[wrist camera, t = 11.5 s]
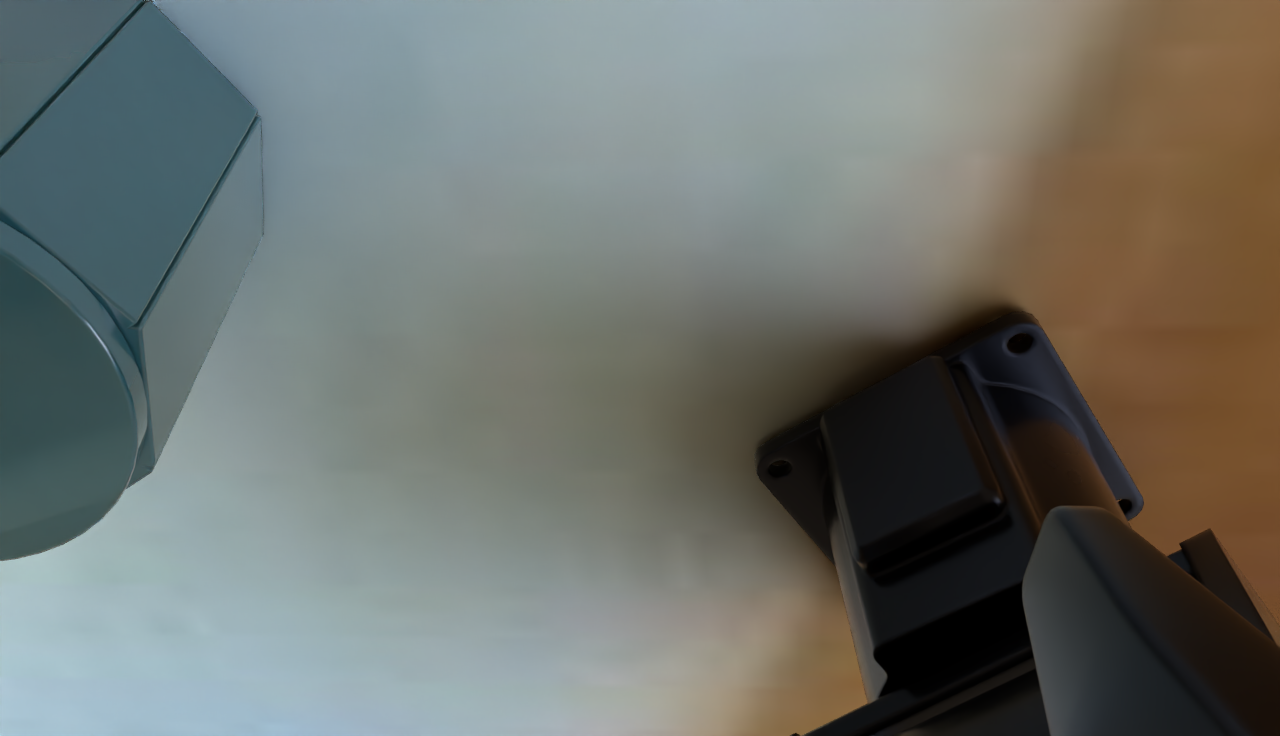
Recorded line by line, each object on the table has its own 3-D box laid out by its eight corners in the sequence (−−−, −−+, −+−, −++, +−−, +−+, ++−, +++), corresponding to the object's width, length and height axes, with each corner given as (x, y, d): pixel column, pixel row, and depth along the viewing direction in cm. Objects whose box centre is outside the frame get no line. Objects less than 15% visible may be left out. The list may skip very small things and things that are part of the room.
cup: (333, 187, 20) (235, 436, 15) (111, 347, 22) (-51, 622, 17) (57, -97, 17) (-199, 82, 12) (-173, 117, 19) (-486, 358, 14)
